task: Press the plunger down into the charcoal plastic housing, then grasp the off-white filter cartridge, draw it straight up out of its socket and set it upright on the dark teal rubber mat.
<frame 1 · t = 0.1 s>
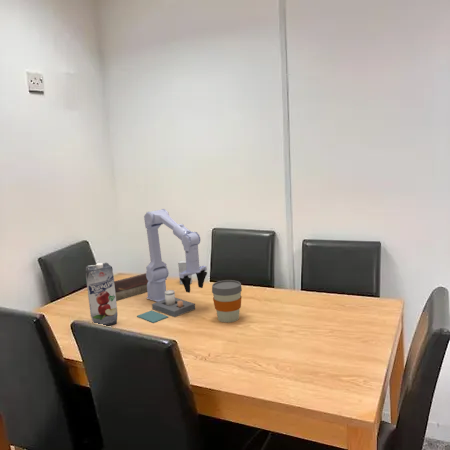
hand: (194, 289, 208), 10 cm above the table, tool pointing down, fingers open, 7 cm apart
filter housing: (173, 309, 213), on the table
hardback book: (130, 291, 244), on the table
juice carton: (105, 323, 201), on the table
skincare box: (185, 283, 251), on the table
reusable coffee cup: (228, 318, 199), on the table
filter cartridge: (170, 308, 215), resting in filter housing
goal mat: (152, 317, 205), on the table
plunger: (180, 305, 209), point 3 cm above the table, slide at 0.0 cm
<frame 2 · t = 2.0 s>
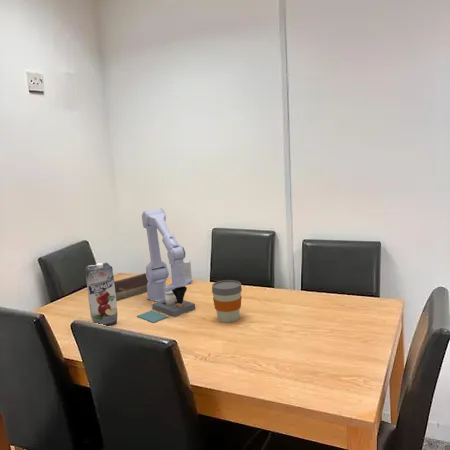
hand: (180, 303, 209), 4 cm above the table, tool pointing down, fingers closed, pressing on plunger
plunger: (180, 306, 210), point 2 cm above the table, slide at -0.7 cm, touching gripper
everything else where it was.
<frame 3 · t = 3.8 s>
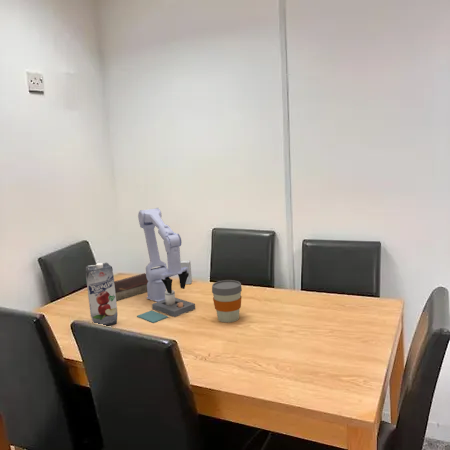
hand: (176, 290, 210), 9 cm above the table, tool pointing down, fingers open, 7 cm apart
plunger: (180, 306, 210), point 2 cm above the table, slide at -0.7 cm
everything else where it was.
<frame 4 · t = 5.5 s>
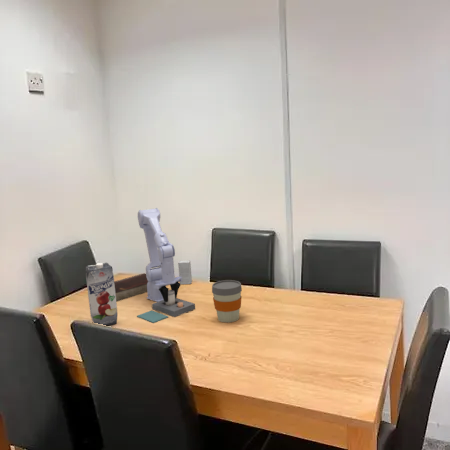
hand: (170, 299, 214), 4 cm above the table, tool pointing down, fingers closed on filter cartridge, 4 cm apart
filter cartridge: (170, 308, 215), resting in filter housing, touching gripper
everything else where it was.
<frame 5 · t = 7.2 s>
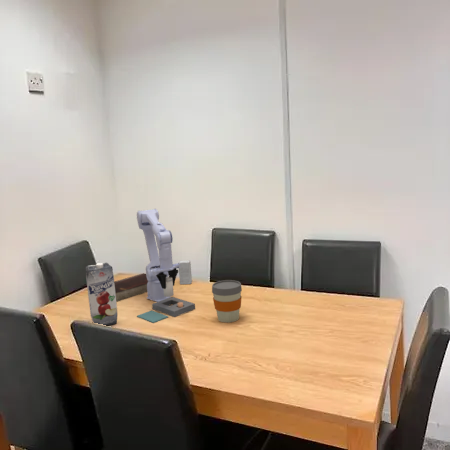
hand: (168, 286, 212), 10 cm above the table, tool pointing down, fingers closed on filter cartridge, 4 cm apart
filter cartridge: (168, 295, 213), point 6 cm above the table, touching gripper
everything else where it was.
when the fingers open (6 cm above the table, at t = 9.2 s): filter cartridge drops 1 cm, resting on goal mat.
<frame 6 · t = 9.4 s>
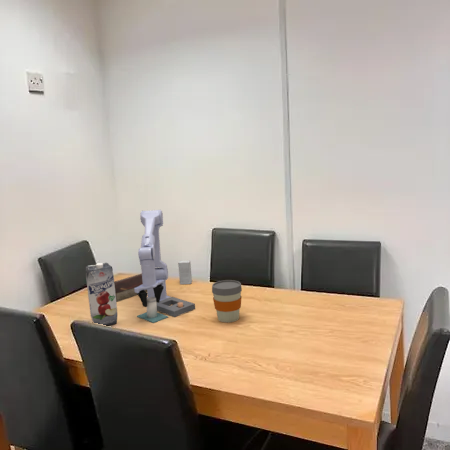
hand: (151, 304, 204), 6 cm above the table, tool pointing down, fingers open, 6 cm apart
filter cartridge: (152, 316, 205), point 1 cm above the table, touching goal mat
everything else where it was.
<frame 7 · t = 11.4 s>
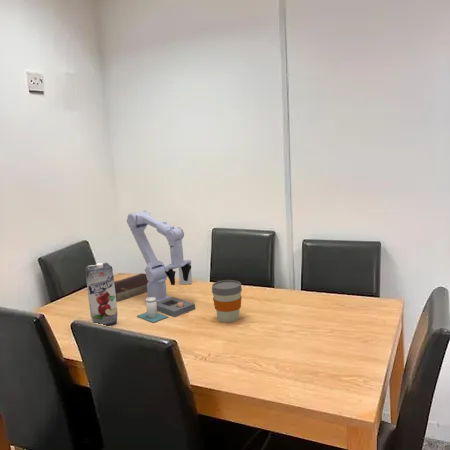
hand: (179, 282, 217), 10 cm above the table, tool pointing down, fingers open, 7 cm apart
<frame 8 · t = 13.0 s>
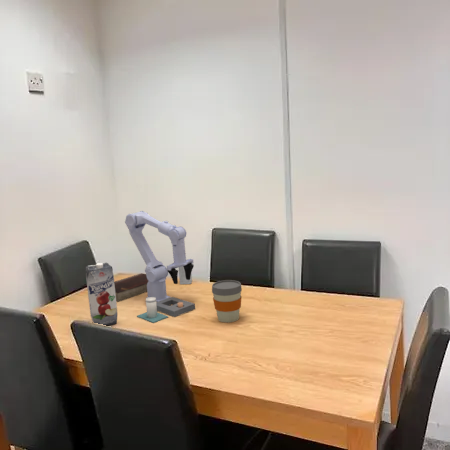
hand: (181, 281, 219), 10 cm above the table, tool pointing down, fingers open, 7 cm apart
at the end: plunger slide at -0.7 cm; filter cartridge inside the target area on the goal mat (0.1 cm from its centre), point 0.5 cm above the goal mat's base; filter cartridge tilted 0° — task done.
